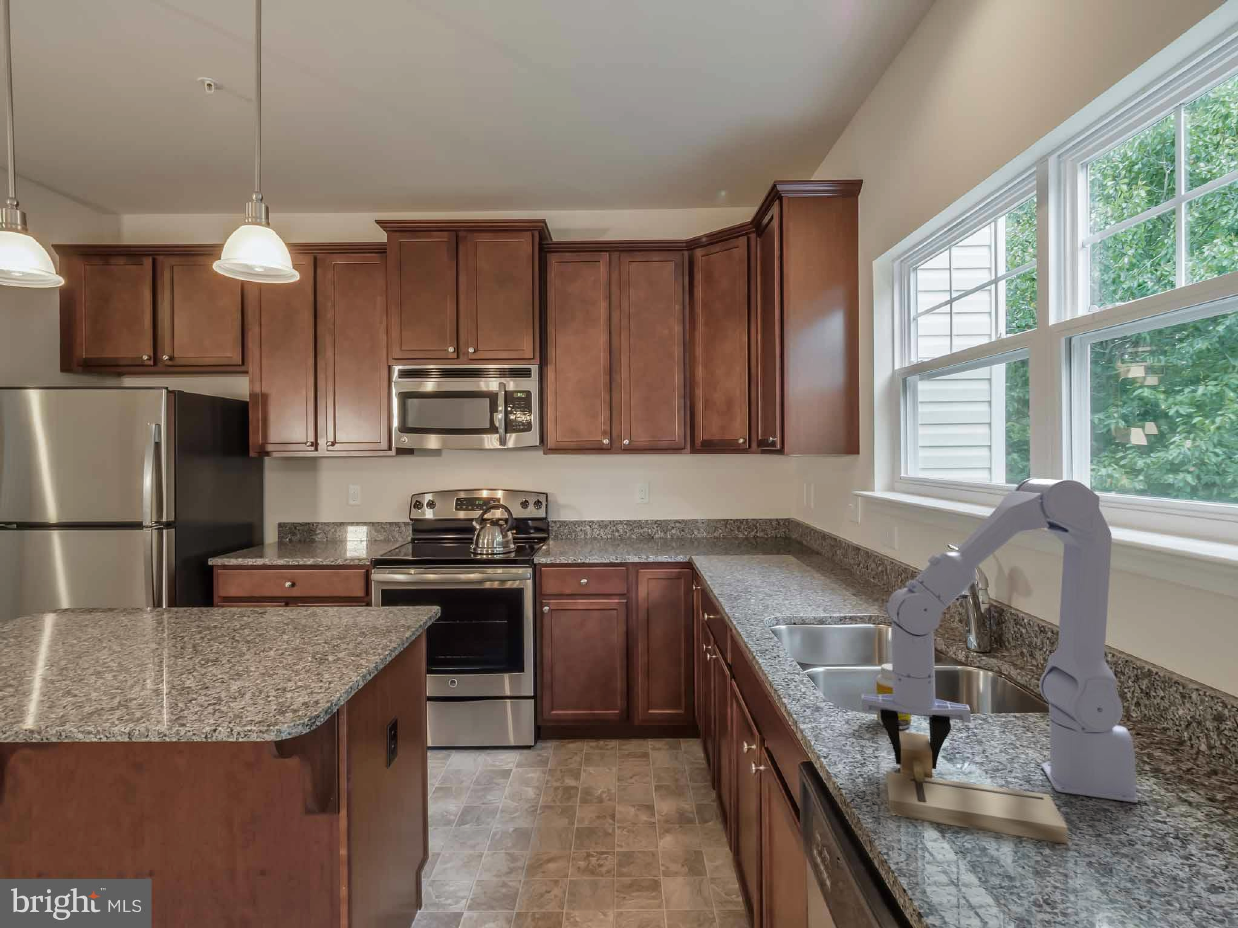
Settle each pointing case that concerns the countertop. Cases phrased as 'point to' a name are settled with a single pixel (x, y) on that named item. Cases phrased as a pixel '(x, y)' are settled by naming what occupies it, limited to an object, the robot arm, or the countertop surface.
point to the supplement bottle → (887, 688)
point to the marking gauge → (915, 755)
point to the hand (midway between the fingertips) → (915, 763)
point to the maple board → (976, 807)
